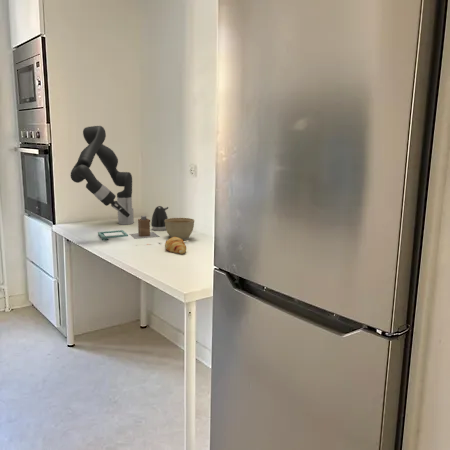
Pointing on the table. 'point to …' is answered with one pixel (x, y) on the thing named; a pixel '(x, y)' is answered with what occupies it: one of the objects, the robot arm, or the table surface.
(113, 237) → the tray
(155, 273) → the table surface
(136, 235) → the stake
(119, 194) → the robot arm
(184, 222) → the planter bowl
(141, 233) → the collar
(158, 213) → the black electric kettle
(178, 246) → the croissant
